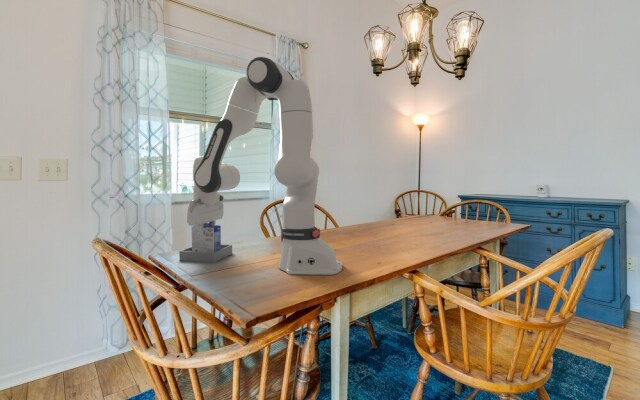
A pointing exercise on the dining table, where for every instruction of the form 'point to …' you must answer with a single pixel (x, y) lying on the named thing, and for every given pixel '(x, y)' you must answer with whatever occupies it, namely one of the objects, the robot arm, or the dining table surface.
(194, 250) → the ink cartridge box
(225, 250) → the bin
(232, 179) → the robot arm
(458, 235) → the dining table surface
